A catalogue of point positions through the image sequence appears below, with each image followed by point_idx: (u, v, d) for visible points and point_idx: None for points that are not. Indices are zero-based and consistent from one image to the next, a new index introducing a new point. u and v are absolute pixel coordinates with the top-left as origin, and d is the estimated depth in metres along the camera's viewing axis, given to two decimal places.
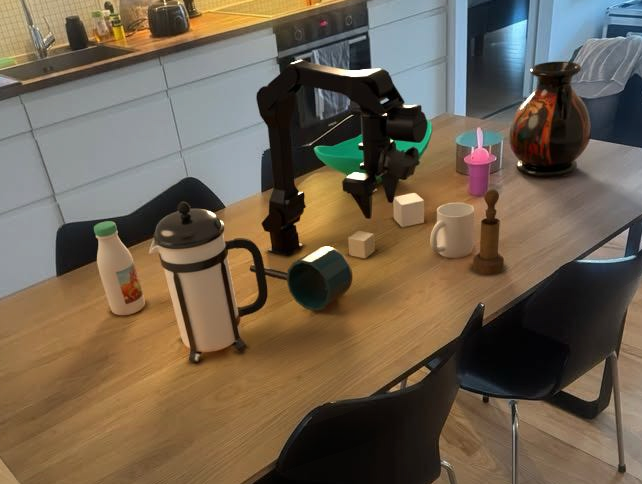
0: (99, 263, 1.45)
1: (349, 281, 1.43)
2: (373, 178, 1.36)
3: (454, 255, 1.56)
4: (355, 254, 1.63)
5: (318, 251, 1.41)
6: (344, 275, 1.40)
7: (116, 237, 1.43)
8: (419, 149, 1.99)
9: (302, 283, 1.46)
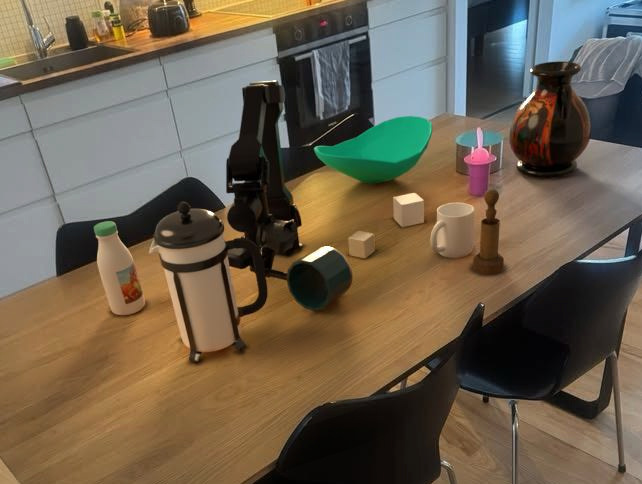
0: (99, 263, 1.45)
1: (349, 281, 1.43)
2: (250, 252, 1.39)
3: (454, 255, 1.56)
4: (355, 254, 1.63)
5: (318, 251, 1.41)
6: (344, 275, 1.40)
7: (116, 237, 1.43)
8: (419, 149, 1.99)
9: (302, 283, 1.46)
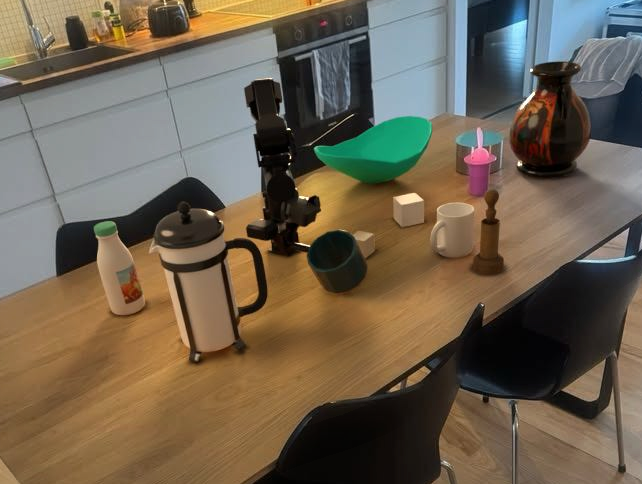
0: (99, 263, 1.45)
1: (361, 278, 1.46)
2: (274, 225, 1.42)
3: (454, 255, 1.56)
4: None
5: None
6: (363, 266, 1.46)
7: (116, 237, 1.43)
8: (419, 149, 1.99)
9: (316, 265, 1.49)
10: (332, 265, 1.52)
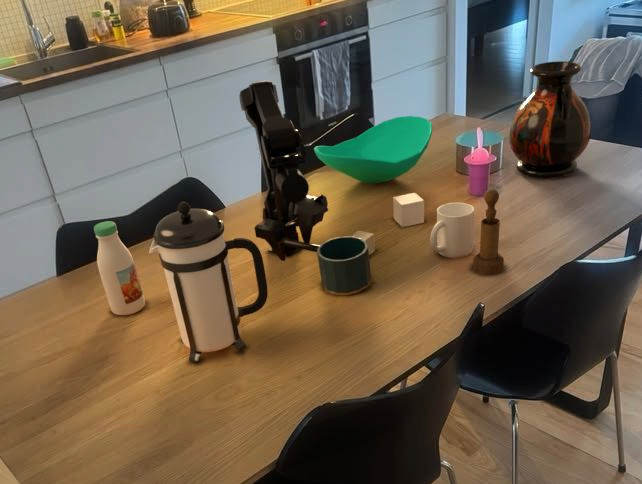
0: (99, 263, 1.45)
1: (364, 284, 1.48)
2: (283, 225, 1.45)
3: (454, 255, 1.56)
4: None
5: None
6: (368, 273, 1.48)
7: (116, 237, 1.43)
8: (419, 149, 1.99)
9: None
10: None
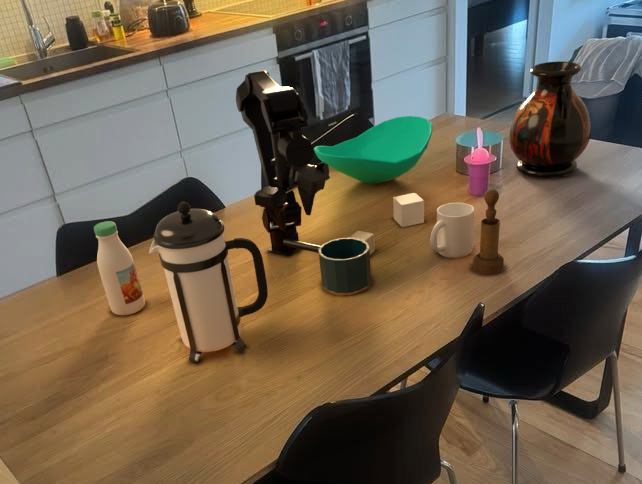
0: (99, 263, 1.45)
1: (365, 285, 1.48)
2: (283, 192, 1.41)
3: (454, 255, 1.56)
4: None
5: None
6: (369, 274, 1.49)
7: (116, 237, 1.43)
8: (419, 149, 1.99)
9: None
10: None
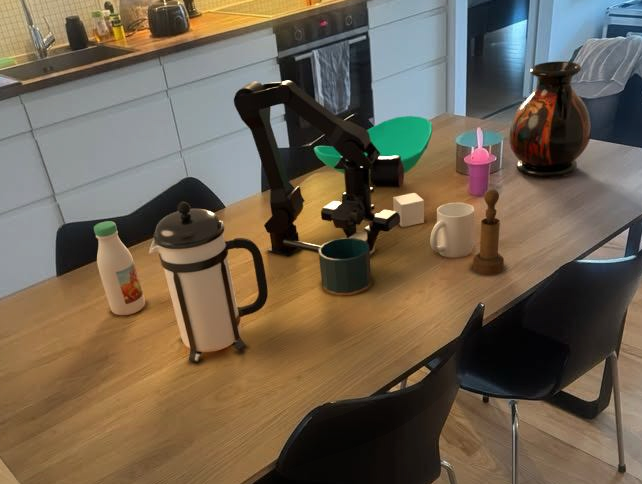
0: (99, 263, 1.45)
1: (365, 285, 1.48)
2: (331, 212, 1.59)
3: (454, 255, 1.56)
4: None
5: None
6: (369, 274, 1.49)
7: (116, 237, 1.43)
8: (419, 149, 1.99)
9: None
10: None
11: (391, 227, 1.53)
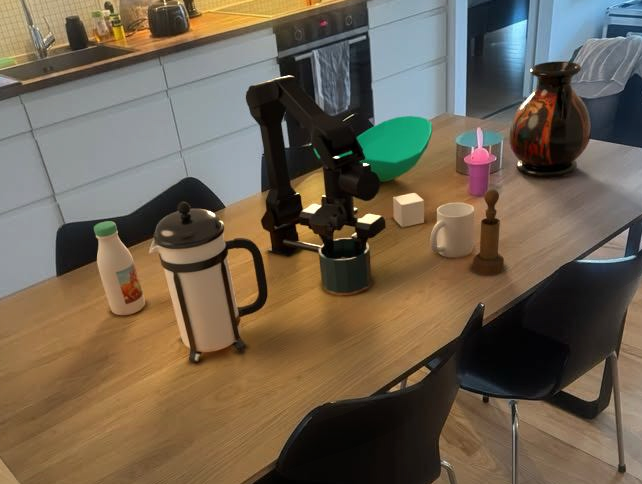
0: (99, 263, 1.45)
1: (365, 285, 1.48)
2: (310, 216, 1.45)
3: (454, 255, 1.56)
4: None
5: None
6: (369, 274, 1.49)
7: (116, 237, 1.43)
8: (419, 149, 1.99)
9: None
10: None
11: (375, 233, 1.38)
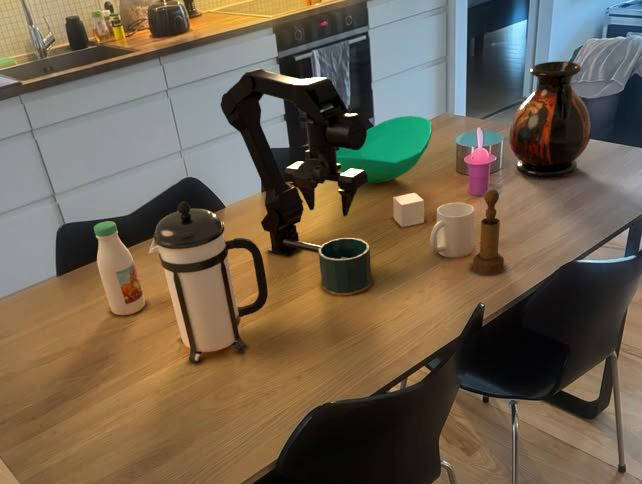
0: (99, 263, 1.45)
1: (365, 285, 1.48)
2: (295, 172, 1.49)
3: (454, 255, 1.56)
4: None
5: None
6: (369, 274, 1.49)
7: (116, 237, 1.43)
8: (419, 149, 1.99)
9: None
10: None
11: (357, 186, 1.43)
